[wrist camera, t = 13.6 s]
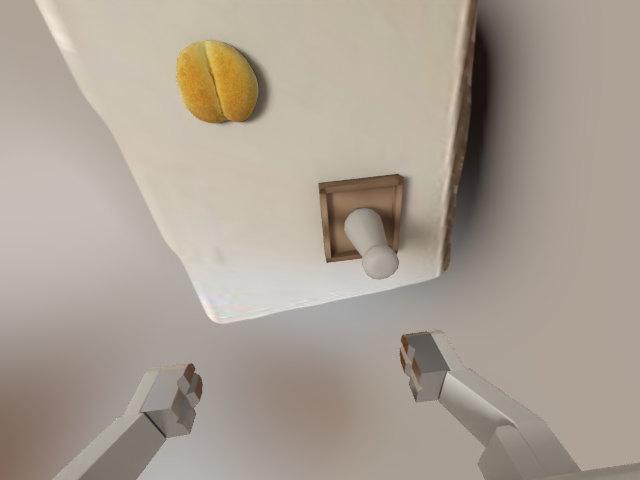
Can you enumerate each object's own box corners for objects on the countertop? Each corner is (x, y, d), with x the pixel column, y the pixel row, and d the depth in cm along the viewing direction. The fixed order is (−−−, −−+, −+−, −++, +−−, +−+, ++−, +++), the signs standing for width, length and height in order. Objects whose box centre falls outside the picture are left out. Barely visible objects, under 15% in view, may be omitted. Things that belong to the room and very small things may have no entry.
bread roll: (263, 119, 34) (260, 123, 31) (193, 122, 34) (182, 127, 30) (252, 39, 30) (247, 34, 26) (172, 42, 29) (156, 37, 26)
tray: (318, 183, 39) (319, 188, 37) (397, 174, 39) (403, 179, 37) (325, 254, 46) (326, 262, 44) (392, 246, 46) (397, 253, 44)
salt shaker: (382, 206, 41) (416, 252, 30) (370, 237, 44) (397, 290, 33) (347, 199, 40) (368, 244, 29) (337, 231, 43) (353, 284, 32)
